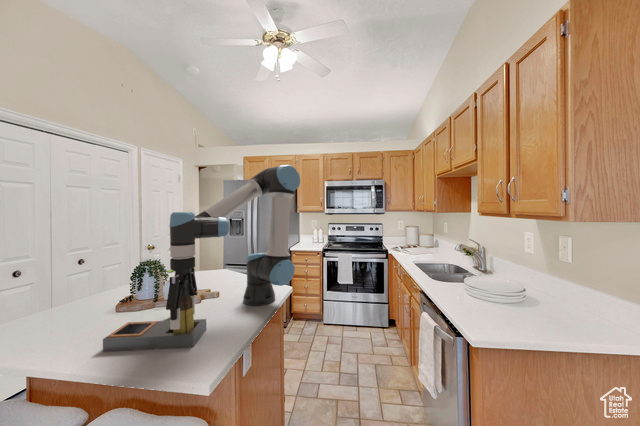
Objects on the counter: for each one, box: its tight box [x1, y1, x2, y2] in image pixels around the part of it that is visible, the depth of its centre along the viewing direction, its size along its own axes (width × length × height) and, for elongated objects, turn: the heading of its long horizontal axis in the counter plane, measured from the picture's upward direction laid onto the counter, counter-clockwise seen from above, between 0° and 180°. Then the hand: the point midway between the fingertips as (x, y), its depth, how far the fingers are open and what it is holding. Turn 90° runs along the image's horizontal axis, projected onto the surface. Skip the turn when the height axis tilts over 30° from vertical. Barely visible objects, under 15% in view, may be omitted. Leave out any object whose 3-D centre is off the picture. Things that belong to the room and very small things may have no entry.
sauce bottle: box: [173, 280, 195, 333], centre depth 87 cm, size 6×6×20 cm
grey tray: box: [102, 318, 207, 353], centre depth 87 cm, size 27×12×4 cm, turn 95°
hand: (183, 321), depth 87 cm, fingers open, 11 cm apart
